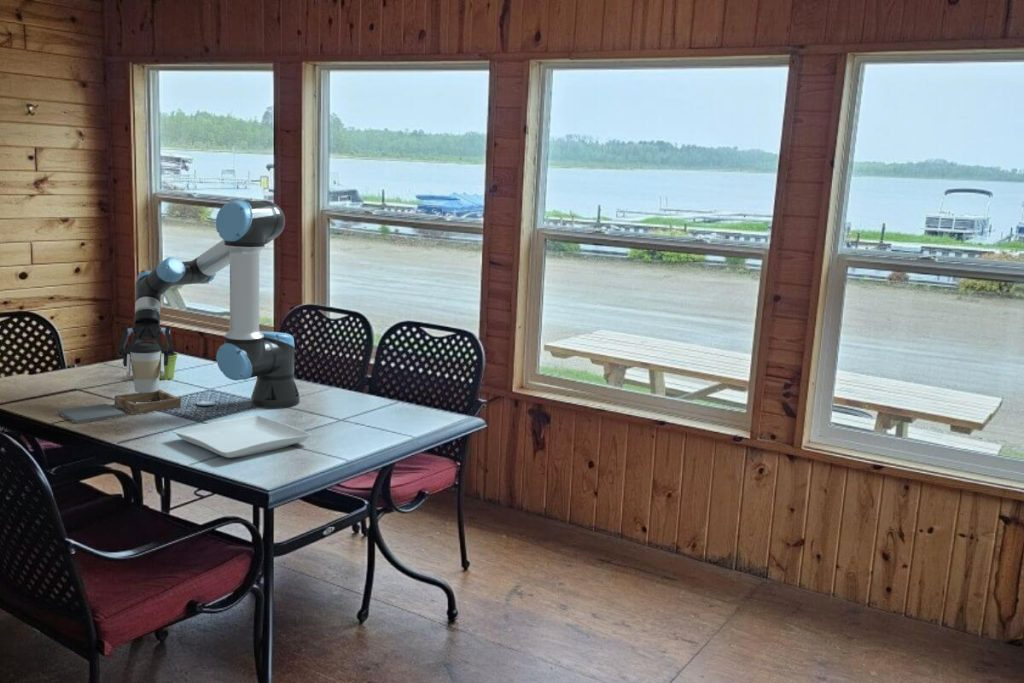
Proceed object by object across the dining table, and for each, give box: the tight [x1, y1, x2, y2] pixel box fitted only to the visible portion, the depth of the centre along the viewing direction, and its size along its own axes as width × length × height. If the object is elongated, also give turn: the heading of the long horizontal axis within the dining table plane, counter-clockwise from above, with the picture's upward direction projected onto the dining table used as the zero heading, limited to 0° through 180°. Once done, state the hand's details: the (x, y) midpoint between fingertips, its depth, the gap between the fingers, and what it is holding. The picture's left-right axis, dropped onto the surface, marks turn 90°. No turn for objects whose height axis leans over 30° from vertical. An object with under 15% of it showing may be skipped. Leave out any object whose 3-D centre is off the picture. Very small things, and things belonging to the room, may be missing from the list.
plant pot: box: [159, 351, 179, 380], centre depth 320 cm, size 9×9×9 cm
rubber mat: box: [57, 403, 126, 424], centre depth 270 cm, size 14×14×1 cm
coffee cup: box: [130, 341, 161, 393], centre depth 280 cm, size 9×9×15 cm
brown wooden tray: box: [114, 389, 182, 415], centre depth 282 cm, size 14×14×3 cm
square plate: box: [172, 415, 312, 459], centre depth 250 cm, size 27×27×4 cm
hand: (145, 373), depth 278 cm, fingers closed on coffee cup, 9 cm apart
